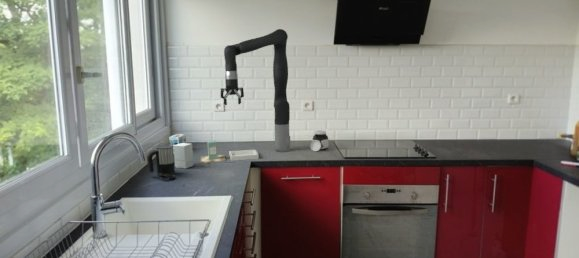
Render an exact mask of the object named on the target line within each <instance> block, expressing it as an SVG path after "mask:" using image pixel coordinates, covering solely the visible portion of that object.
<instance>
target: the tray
mask: <svg viewBox="0 0 579 258" xmlns="http://www.w3.org/2000/svg"><path fill="white" fill-rule="evenodd" d="M228 152H229V158H230V161H231V162H233V161H243V160H246V161H247V160H259V156H260V155H259V153H258V151H257V150H256V149H247V150H246V149H244V150H229V151H228Z"/></svg>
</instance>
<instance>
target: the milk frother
mask: <svg viewBox="0 0 579 258" xmlns="http://www.w3.org/2000/svg"><path fill="white" fill-rule="evenodd" d="M173 147H174V146H173V145H170V144H160V145H156V146H155V148H154V149H153V150H151V151H149V152H148V153H147V154H146V155H147V156H146V161H147V167H148V172H149V173H153V172H154V171H155V170H154V162H153V157H154V156H155V165H156V176H159V177H166V178H168V179H170V180H172V179H174V178H176V175H175V174H176V171H175V169H176V168H175V156H174V153H173Z"/></svg>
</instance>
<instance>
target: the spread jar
mask: <svg viewBox="0 0 579 258" xmlns="http://www.w3.org/2000/svg"><path fill="white" fill-rule="evenodd" d="M314 133H315V134H314V135H313V137H312V141H311V142H310V147H309V148H310V149H311V151H312V152H319V151H325V150H327V149H328V148H329V145H330V144H329V137H328V135H327V131H326V130H315V132H314Z"/></svg>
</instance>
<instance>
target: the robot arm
mask: <svg viewBox="0 0 579 258" xmlns="http://www.w3.org/2000/svg"><path fill="white" fill-rule="evenodd" d="M288 37H289V35H288V33H287V31H286V30H284V29H282V28H278V29H276V30H274V31H272V32H270V33H267V34H266V35H263V36H259V37H255V38H251V39H248V40H244V41H241V42H239V43H236V44H235V43H234V44H232V45H227V46H225V48H224V50H223V54H224V56H223V57H224V61H225V62H224V63H225V64H224V65H225V67H224V69H225V74H224V75H225V76H224V79H225V81H224V82H225V88H222V87H221V88H220V99H223V104H224V105H225V106H227V105H228V102H227V101H228V100H227V98H228V97H229V96H232V95H233V96H236V97H237V102H238V103H237V104H238V105H241V103H242V98H244V96H245V93H244V88H243V87H239V81H238V80H239V78H238V77H239V76H238V65H237V56H239V55H243V54H246V53H251V52H254V51H257V50H259V49H262V48H265V47H268V46H273V51H274V53H273V63H272V65H273V67H272V72H273V73H272V74H273V76H272V77H273V86H274V98H273V99H274V100H273V108H274V143H275V144H274V148H275V149H274V150H275V152H279V153H284V152H285V153H286V152H290V151H291V135H290V114H291V112H290V111H291V110H290V102H289V101H288V98H287V87H288V80H289V79H288V78H289V65H288V58H287V42H288V39H289V38H288ZM239 91H240V93H239ZM224 92H226V93H225V94H224Z"/></svg>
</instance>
